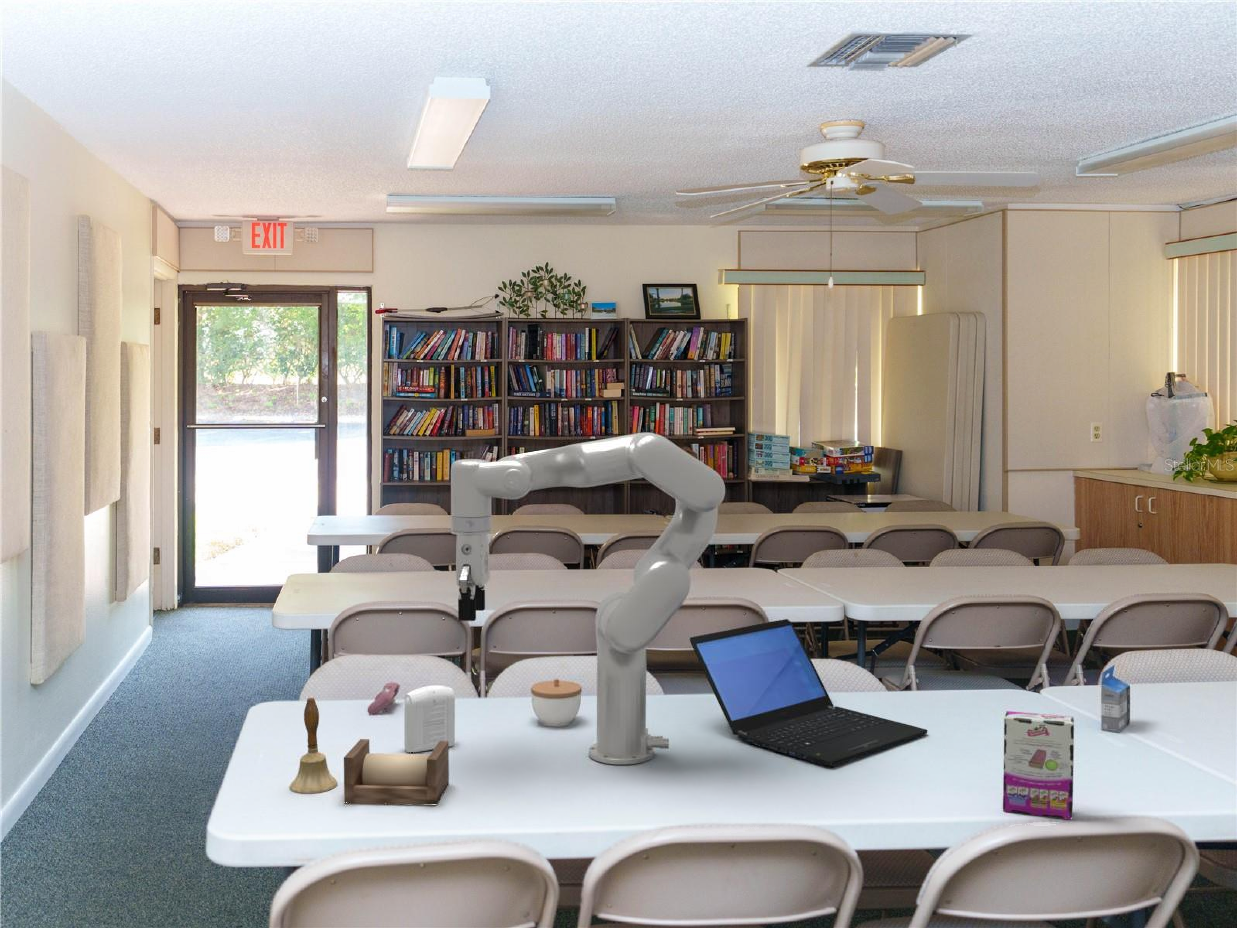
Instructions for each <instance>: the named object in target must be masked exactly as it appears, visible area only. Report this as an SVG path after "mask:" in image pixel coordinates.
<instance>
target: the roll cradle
mask: <svg viewBox="0 0 1237 928" xmlns="http://www.w3.org/2000/svg"><path fill="white" fill-rule="evenodd" d="M449 748H450V746H449V741H439V743H438V744H437V745H436V747H435V748H434V749H432V751H431V753H430V754H429V755H430V756H429V757H428V759H427V787H417V786H374V785H363V780H362V771H363V763H364V759H365V756H366V754H367V753H370V739H369V738H367V739H366V738H360V739H359V740H358V741H357V743H356V744H355V745H354V746H353V747H352V748H351V749H350V750H349V751H348V752H347V753H346V754H345V756H344V757H343V793H344V795H343V797H344V799H343V800H344V802H345V803H344V802H343V803H344V804H358V803H363V805H364V803H365V804H366V805H368V804H370V805H398V804H437V803H438V804H439V802H440V800H441V799H442V797H443V795H444V794H443V793H445V792H446V791H447V789H446V788H448V787H449V785H450V781H449V780H450V774H449V773H450V768H449V766H450V765H449V763H450V762H449V761H450V759H449V756H450V755H449V752H450V751H449ZM447 786H448V787H447ZM444 791H445V792H444ZM442 794H443V795H442ZM441 796H442V797H441ZM440 798H441V799H440ZM438 801H439V802H438ZM346 802H347V803H346ZM385 803H386V804H385ZM438 804H437V805H438Z"/></svg>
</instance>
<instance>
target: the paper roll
mask: <svg viewBox="0 0 1237 928" xmlns="http://www.w3.org/2000/svg"><path fill="white" fill-rule="evenodd" d="M429 756H430V754H428V753H427V754H425V753H423V754H422V753H421V754H419V753H418V754H417V753H383V752H382V753H378V752H377V753H372V752H369V753H367V754H366V756H365V759H364V763H363V771H362V780H363V785H374V786H417V787H427V759H428V757H429Z"/></svg>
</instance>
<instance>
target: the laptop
mask: <svg viewBox="0 0 1237 928" xmlns="http://www.w3.org/2000/svg"><path fill="white" fill-rule="evenodd" d="M801 639H802V638H801V637H800V635H799V633H798V631H797V629H796V628H795V626H794V625H793V623H792V622H791V621H790V620H789V619H788V618H785V619H779V620H774V621H768V622H762V623H757V624H753V625H749V626H741V627H736V628H733V629H732V628H731V629H727V630H721V631H718V632H717V631H716V632H711V633H706V634H701V635H696V636H690V637H689V643H690V644H691V647H692V649H693V651H694V653H695V655H696V658H697V659H698V661H699V663H700V666H701V668H702V670H703V672H704V674H705V677H706V679H707V681H708V683H709V685H710V687H711V690H712V692H713V694H714V696H715V698H716V701H717V702H718V704H719V706H720V709H721V711H722V713H723V716H724V717H725V721H726V722H727V724H728V727H729V728H730V730H731V733H732V735H734V736H736V735H737V739H739V740H740V741H744V742H747V743H749V744H752V745H755V746H758V747H763V748H766V749H768V750H772V751H775V752H778V753H781V754H785V755H789V756H791V757H793V758H797V759H802V760H805V761H808V762H812V763H815V764H819V765H822V766H826V767H828V768H832V767H835V766H837V765H841V764H843V763H846V762H848V761H851V760H854V759H857V758H861V757H862V756H863V757H864V756H866V755H869V754H872V753H875V752H878V751H881V750H884V749H888V748H890V747H893V746H896V745H899V744H901V743H905V742H908V741H911V740H913V739H917V738H921V737H922V736H924V735H926V734H927V733H928V729H927V728H922V727H918V726H915V725H911V724H907V723H903V722H898V721H895V720H891V719H887V718H883V717H879V716H876V715H871V714H868V713H864V712H860V711H857V710H856V711H855V710H852V709H848V708H844V707H840V706H834V704H833V701H832V699H831V697H830V696H829V693H828V691H827V689H826V688H825V685H824V683H823V682H822V679H821V677H820V675H819V673H818V671H817V669H816V666H815V665H814V663H813V661H812V659H811V657H810V655H809V653H808V651H807V649H806V647H805V646H804V645H805V644H804V643H803V641H802V640H801Z"/></svg>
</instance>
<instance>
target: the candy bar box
mask: <svg viewBox="0 0 1237 928" xmlns="http://www.w3.org/2000/svg"><path fill="white" fill-rule="evenodd" d="M1005 711H1006V712H1005V714H1004V719H1003V725H1004V726H1003V741H1004V742H1003V776H1002V777H1003V778H1002V779H1003V780H1002V781H1003V782H1002V783H1003V784H1002V785H1003V794H1002V811H1003V812H1005V813H1010V814H1011V813H1013V814H1020V815H1026V816H1027V815H1028V816H1034V817H1035V816H1036V817H1045V818H1054V819H1062V820H1069V819H1071V818H1072V819H1073V811H1074V810H1073V804H1074V764H1075V763H1074V758H1075V756H1074V752H1075V751H1074V749H1075V742H1074V741H1075V717H1074V716H1069V715H1068V716H1067V715H1057V714H1056V715H1055V714H1044V713H1036V712H1035V713H1033V712H1024V711H1023V712H1022V711H1010V710H1005ZM1072 819H1071V820H1072Z"/></svg>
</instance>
